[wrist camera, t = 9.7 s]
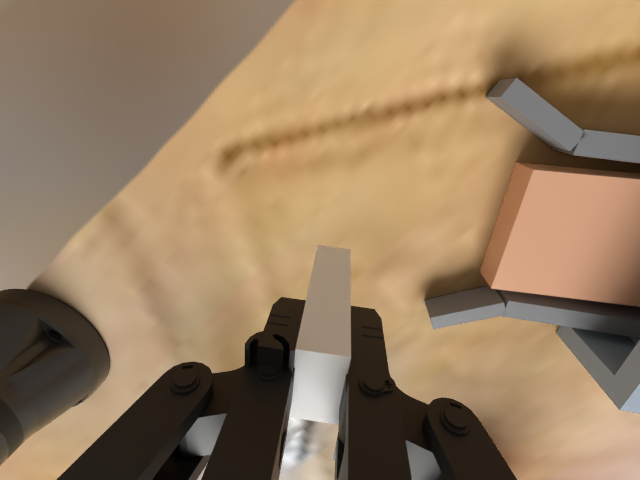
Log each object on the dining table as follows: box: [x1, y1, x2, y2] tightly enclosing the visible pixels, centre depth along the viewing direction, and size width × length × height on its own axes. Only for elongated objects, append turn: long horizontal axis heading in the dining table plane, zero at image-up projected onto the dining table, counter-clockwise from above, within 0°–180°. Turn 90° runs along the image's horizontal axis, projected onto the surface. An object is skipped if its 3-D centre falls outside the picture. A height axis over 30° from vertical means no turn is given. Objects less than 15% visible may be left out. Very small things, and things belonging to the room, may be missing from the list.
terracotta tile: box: [480, 162, 640, 307], centre depth 23 cm, size 12×9×3 cm
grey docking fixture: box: [425, 78, 640, 414], centre depth 18 cm, size 18×19×12 cm
